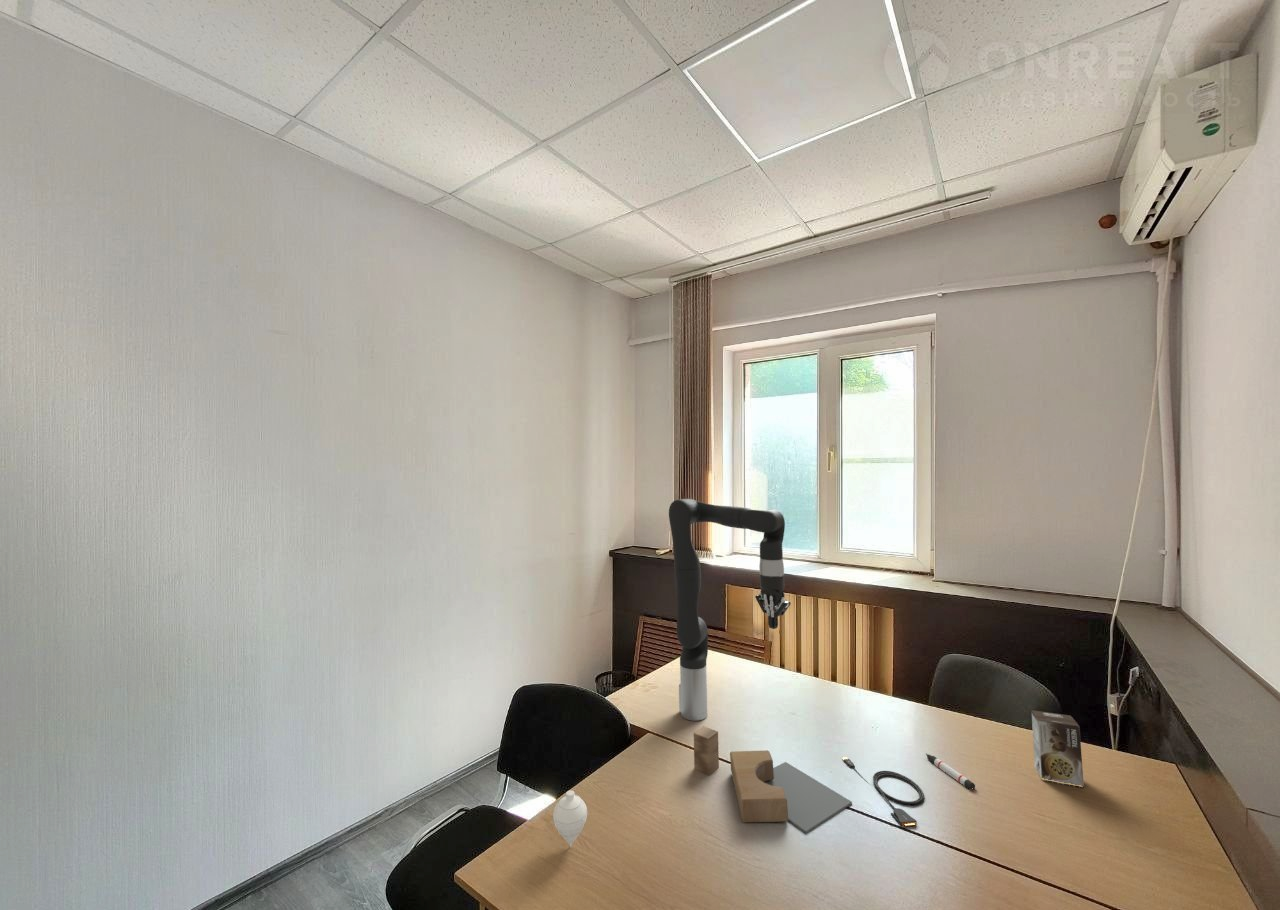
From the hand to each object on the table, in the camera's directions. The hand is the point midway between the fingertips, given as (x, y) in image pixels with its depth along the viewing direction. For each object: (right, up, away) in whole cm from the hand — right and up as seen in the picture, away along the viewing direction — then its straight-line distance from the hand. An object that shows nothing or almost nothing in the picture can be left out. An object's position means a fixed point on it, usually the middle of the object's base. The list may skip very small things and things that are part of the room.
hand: (773, 628), depth 154 cm
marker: (+44, -34, -18) cm, 58 cm away
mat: (-2, -34, -27) cm, 43 cm away
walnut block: (-23, -35, -15) cm, 44 cm away
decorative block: (-11, -31, -17) cm, 37 cm away
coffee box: (+71, -33, -22) cm, 82 cm away
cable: (+25, -34, -25) cm, 49 cm away
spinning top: (-58, -34, -44) cm, 80 cm away
